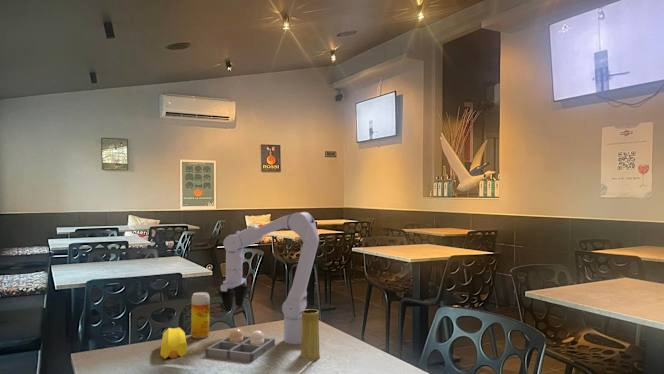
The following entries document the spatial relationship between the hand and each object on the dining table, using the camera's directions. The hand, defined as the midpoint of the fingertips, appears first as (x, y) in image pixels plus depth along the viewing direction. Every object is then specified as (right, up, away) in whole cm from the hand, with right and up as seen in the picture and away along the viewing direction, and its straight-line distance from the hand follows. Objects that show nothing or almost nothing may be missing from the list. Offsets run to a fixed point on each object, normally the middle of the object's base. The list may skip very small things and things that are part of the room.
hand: (233, 308), depth 165 cm
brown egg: (+3, -10, -11) cm, 15 cm away
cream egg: (+10, -10, -13) cm, 19 cm away
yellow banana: (-16, -11, -14) cm, 24 cm away
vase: (+27, -11, -19) cm, 35 cm away
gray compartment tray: (+6, -10, -15) cm, 19 cm away
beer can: (-12, -11, +2) cm, 16 cm away
